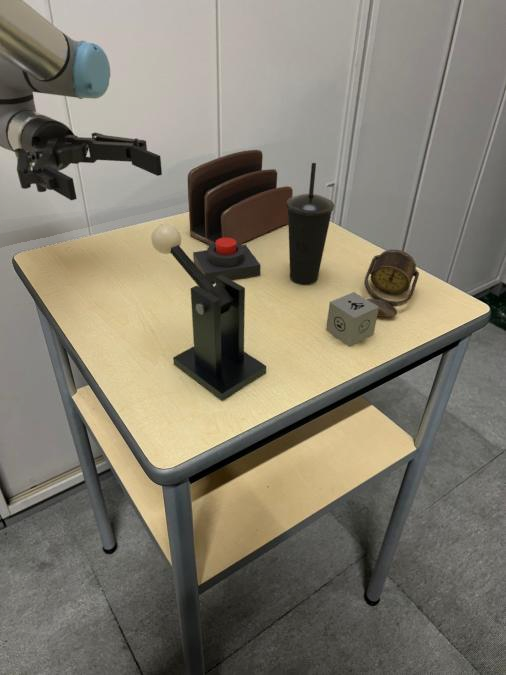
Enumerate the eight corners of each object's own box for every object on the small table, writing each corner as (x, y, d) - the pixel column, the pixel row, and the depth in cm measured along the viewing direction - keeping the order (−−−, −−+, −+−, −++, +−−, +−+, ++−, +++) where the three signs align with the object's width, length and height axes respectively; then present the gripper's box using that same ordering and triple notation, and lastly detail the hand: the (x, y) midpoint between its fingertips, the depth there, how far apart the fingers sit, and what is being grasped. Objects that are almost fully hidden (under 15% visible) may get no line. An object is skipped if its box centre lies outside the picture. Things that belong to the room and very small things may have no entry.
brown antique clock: (443, 267, 83) (393, 235, 88) (405, 290, 75) (351, 253, 79) (423, 301, 88) (376, 269, 92) (384, 326, 80) (335, 290, 84)
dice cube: (349, 346, 75) (354, 318, 72) (326, 330, 78) (329, 302, 75) (373, 334, 77) (378, 306, 74) (349, 319, 81) (353, 291, 78)
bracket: (173, 364, 71) (166, 283, 63) (217, 340, 76) (215, 262, 68) (222, 401, 65) (220, 317, 58) (266, 372, 70) (270, 292, 62)
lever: (143, 243, 68) (147, 222, 65) (166, 235, 70) (172, 214, 67) (209, 323, 64) (217, 305, 61) (231, 311, 66) (240, 293, 63)
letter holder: (189, 236, 103) (185, 165, 94) (258, 209, 114) (260, 143, 106) (223, 253, 97) (222, 179, 89) (292, 222, 109) (297, 155, 101)
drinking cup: (283, 265, 94) (290, 154, 82) (326, 269, 93) (339, 157, 81) (279, 287, 88) (286, 170, 76) (324, 291, 87) (339, 173, 75)
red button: (219, 257, 88) (219, 247, 87) (213, 247, 91) (213, 238, 90) (239, 254, 89) (239, 245, 88) (232, 245, 92) (232, 236, 91)
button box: (205, 284, 88) (204, 263, 86) (193, 263, 94) (192, 242, 92) (260, 275, 91) (260, 255, 88) (245, 255, 97) (245, 235, 94)
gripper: (115, 149, 91) (191, 182, 79) (-30, 183, 77) (36, 229, 65) (108, 104, 87) (188, 131, 75) (-47, 131, 72) (21, 170, 60)
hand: (118, 177), depth 70 cm, fingers open, 13 cm apart
